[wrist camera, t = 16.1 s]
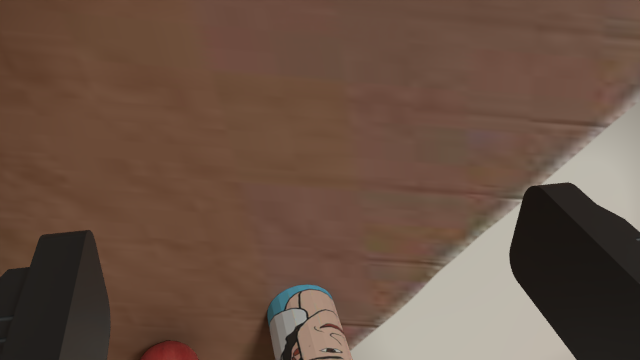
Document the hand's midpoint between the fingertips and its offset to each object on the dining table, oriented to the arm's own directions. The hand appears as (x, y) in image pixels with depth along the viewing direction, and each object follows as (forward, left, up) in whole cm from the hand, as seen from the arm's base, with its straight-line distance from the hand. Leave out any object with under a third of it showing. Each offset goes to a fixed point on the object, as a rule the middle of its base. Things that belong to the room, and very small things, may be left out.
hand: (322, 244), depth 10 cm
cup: (+34, +6, -32) cm, 47 cm away
